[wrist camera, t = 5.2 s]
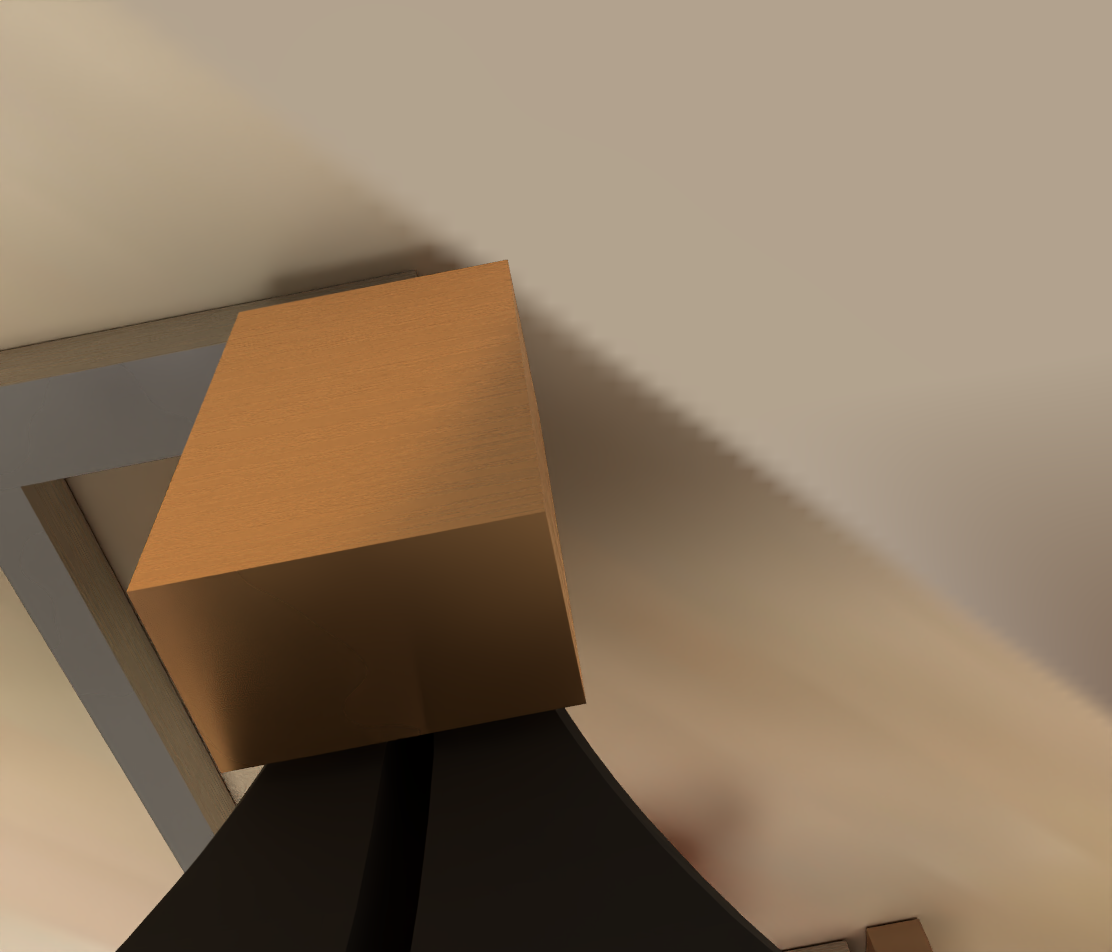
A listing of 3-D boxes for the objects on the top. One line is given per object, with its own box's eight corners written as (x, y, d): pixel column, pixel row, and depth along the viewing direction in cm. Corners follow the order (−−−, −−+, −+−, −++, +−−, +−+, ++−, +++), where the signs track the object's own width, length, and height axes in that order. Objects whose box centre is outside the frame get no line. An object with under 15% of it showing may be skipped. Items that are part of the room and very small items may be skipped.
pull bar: (846, 963, 20) (967, 1308, 15) (330, 1059, 20) (297, 1430, 15) (833, 161, 11) (1104, 403, 7) (-77, 339, 11) (-429, 700, 7)
